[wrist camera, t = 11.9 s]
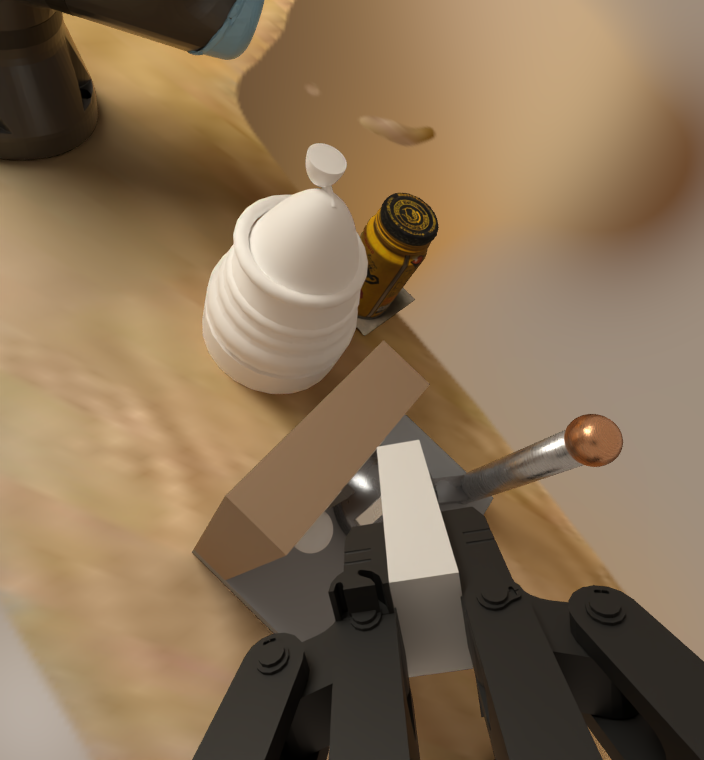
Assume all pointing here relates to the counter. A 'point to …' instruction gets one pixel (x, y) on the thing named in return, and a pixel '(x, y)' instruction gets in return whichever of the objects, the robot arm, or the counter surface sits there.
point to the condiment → (393, 256)
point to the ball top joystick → (494, 470)
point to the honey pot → (288, 286)
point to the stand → (314, 497)
